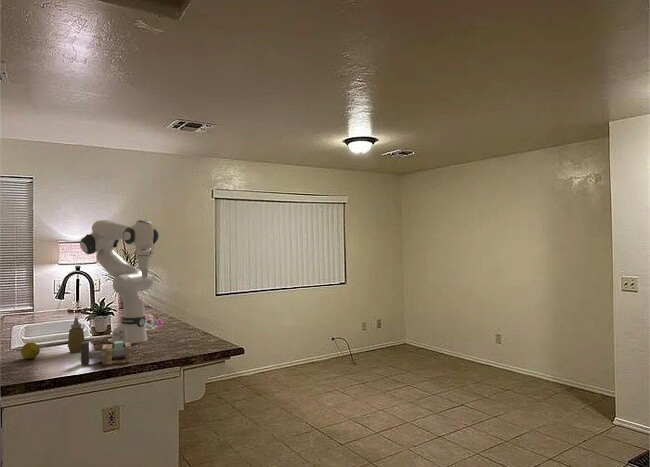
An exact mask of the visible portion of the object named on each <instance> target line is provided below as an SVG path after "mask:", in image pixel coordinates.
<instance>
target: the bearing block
mask: <svg viewBox="0 0 650 467" xmlns="http://www.w3.org/2000/svg"><path fill="white" fill-rule="evenodd" d="M124 345H125V347H124V348H125V356H117V357H112V349H113V343H109V344H106V343H105V344H103V345H102V348H101V350H102V358H101V359H102V360H101V361H102V364H105V365H113V364H112V363H115V364H122V363H130V362H132V355H131V347H132V343H131V342H128V343H125V344H124ZM122 358H124V359H122ZM112 359H114V360H112ZM102 364H101V365H102Z"/></svg>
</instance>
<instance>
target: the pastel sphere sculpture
mask: <svg viewBox="0 0 650 467" xmlns="http://www.w3.org/2000/svg"><path fill="white" fill-rule="evenodd" d="M144 315H145V328H146V332H148V331H154V330H156V329H159V328H162V327H163V326H164V322H163V317H162V316H160V315H161V314H157V312H153V313H152V315H151V314H146V313H144Z"/></svg>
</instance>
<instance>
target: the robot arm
mask: <svg viewBox="0 0 650 467" xmlns="http://www.w3.org/2000/svg"><path fill="white" fill-rule="evenodd" d="M159 235H160V234H159V232H158V230H157V229H156V228H155V227H154V225H153V222H151V221H150V220H144V219H139V220H137V221H136V222H135V223H134V224H133V225H131V226H130V225H127V224H123V223H120V222H116V221H114V220H109V219H100V220H96V221H94V222H93V224H92V226H91V233H90V234H89V233H87V234H86V235H85V236H84V237H82V238H81V239H80V242H79V245H80V248H81V250H82V251H83V252H84V254H86V255H92V254H95V253H96V260H97V261H98V263H99V264H100V265H101V267H102V268H103V269H104V270H105V271H106V272H107V273H108V274H110V275H111V277H113V280H112V281H113V282H112V288H113V290H114V292H116V293H117V294H118V295H119V297H120V299H121V301H122V307H123V317H121V318H120V319H119V320H120V321H121V323H120V324H119V325H118V326H117V327H116V328H115V329H113V330H112V334H111V338H108V339H107V343H111V344H114V342H115V341H123V345H125V343H128V342H131V344H138V343H139V344H140V343H143V342H147V341H148V340H149V339H148V336H147V331H146V328H145V315H144V314H145V302H144V301H143V299H141V298H140V297H139V292H140V293H141V292H145V291H147V290H149V289H151V288H152V286H153V285H154V278H153V276H152V274H150V273H148V272H149V268H151V267H150V266H151V265H150V264H151V262H150V261H151V260H150V259H151V258H152V255H154V254H155V252H154V251H155V250H154V248H155V246H154V245H155V244H156V243H157V241H158V239H159ZM120 240H123V241H124V242H125V244H127V245H129V246H134V245H135V256H137V263H138V268H137V267H135V266H133V265H132V264H130V263H128V262H127V261H126V260H125V259H124V258H122V256H120V255H119V254H118V253H117V252H116V251H115V249H114V248H117V247H118V243H119V241H120Z"/></svg>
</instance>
